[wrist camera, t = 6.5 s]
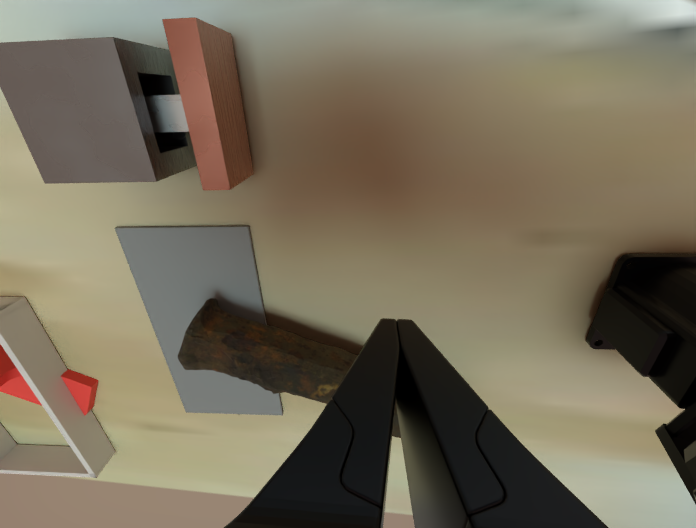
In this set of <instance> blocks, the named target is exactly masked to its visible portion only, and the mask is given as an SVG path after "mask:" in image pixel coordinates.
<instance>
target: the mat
mask: <svg viewBox="0 0 696 528" xmlns="http://www.w3.org/2000/svg"><path fill="white" fill-rule="evenodd" d="M115 231H116V233H117V236H118V238H119V241H120V243H121V246H122V249H123V251H124V254H125V256H126V259H127V261H128V264H129V267H130V269H131V272H132V274H133V277H134V279H135V282H136V285H137V287H138V290H139V292H140V295H141V298H142V300H143V303H144V305H145V308H146V310H147V313H148V316H149V318H150V321H151V323H152V326H153V328H154V331H155V334H156V336H157V339H158V341H159V344H160V346H161V349H162V352H163V354H164V357H165V359H166V362H167V364H168V367H169V370H170V372H171V375H172V377H173V380H174V383H175V385H176V388H177V390H178V393H179V395H180V398H181V401H182V403H183V406H184V408H185V411H186V412H192V413H224V414H256V415H283V409H282V404H281V398H280V393H276V394H273V393H272V391H268V390H265V389H263V388H262V387H261V386H259V385H258V384H253V383H252V382H249V381H246V380H240V379H239V378H237V377H232V376H230V375H227V374H225V373H220V372H216V371H214V370H185V369H184V368H183V366H182V365H181V363H180V362H179V360H178V353H179V351H180V348H181V345H182V342H183V338H184V335H185V332H186V330H187V328H188V326H189V324H190V323H191V321H192V320H193V318H194V317H195V315H196V314H197V312H198V311H199V310H200V309H201V307H202V306H203V305H204V304H205V302H206V300H208V299H210V298H216V299H217V300H218V305H219V306H220V308H221V309H222V310H223V311H225V312H228V313H230V314H233V315H236V316H239V317H243V318H245V319H248V320H252V321H257V322H260V323H262V324H264V325H267V322H266V316H265V311H264V305H263V300H262V295H261V289H260V284H259V278H258V273H257V267H256V262H255V256H254V251H253V245H252V240H251V234H250V229H249V226H163V227H116V228H115Z"/></svg>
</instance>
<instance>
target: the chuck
mask: <svg viewBox="0 0 696 528" xmlns="http://www.w3.org/2000/svg"><path fill="white" fill-rule="evenodd" d="M0 87H1V89H2V92H3V94H4V96H5V98H6V100H7V102H8V105H9V107H10V109H11V111H12V113H13V115H14V118H15V120H16V122H17V124H18V126H19V128H20V130H21V133H22V135H23V137H24V139H25V141H26V143H27V146H28V148H29V150H30V152H31V154H32V156H33V159H34V161H35V163H36V165H37V167H38V169H39V172H40V174H41V176H42V178H43V180H44V182H45V183H100V182H155V181H159V180H161V179H164V178H166V177H169V176H171V175H174V174H176V173H179V172H181V171H184V170H186V169H189V168H192V167H194V166H197V162H196V158H195V154H194V150H193V145H192V141H191V137H190V133H189V132H155V133H154V130H153V127H152V123H151V120H150V116H149V113H148V109H147V106H146V102H145V99H144V96H154V95H180V91H179V87H178V83H177V79H176V74H175V70H174V66H173V62H172V58H171V54H170V50H166V49H161V48H157V47H153V46H148V45H144V44H140V43H136V42H131V41H127V40H123V39H118V38H114V37H107V38H86V39H66V40H46V41H26V42H6V43H0Z"/></svg>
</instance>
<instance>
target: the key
mask: <svg viewBox="0 0 696 528" xmlns="http://www.w3.org/2000/svg"><path fill="white" fill-rule="evenodd" d="M162 20H163V24H164V28H165V33H166V37H167V41H168V45H169V49H170V54H171V58H172V62H173V66H174V70H175V74H176V79H177V83H178V87H179V91H180V95H154V96H144V99H145V102H146V106H147V109H148V113H149V116H150V120H151V123H152V127H153V130H154V133H155V132H189V133H190V137H191V141H192V145H193V150H194V154H195V158H196V162H197V166H198V170H199V175H200V179H201V183H202V187H203V190H231V189H232V188H234V187H235V186H237V185H238V184H240V183H241V182H242V181H244V180H245V179H247V178H248V177H250V176H251V175H253V174H254V173H253V167H252V161H251V154H250V148H249V142H248V136H247V130H246V124H245V118H244V111H243V105H242V99H241V93H240V87H239V81H238V75H237V69H236V62H235V56H234V50H233V44H232V38H231V34H230V33H228V32H226V31H224V30H222V29H219V28H217V27H215V26H213V25H211V24H208V23H206V22H204V21H202V20H200V19H197V18H179V19H162Z"/></svg>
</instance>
